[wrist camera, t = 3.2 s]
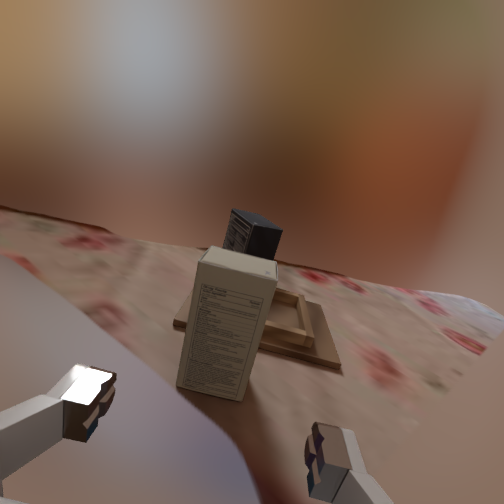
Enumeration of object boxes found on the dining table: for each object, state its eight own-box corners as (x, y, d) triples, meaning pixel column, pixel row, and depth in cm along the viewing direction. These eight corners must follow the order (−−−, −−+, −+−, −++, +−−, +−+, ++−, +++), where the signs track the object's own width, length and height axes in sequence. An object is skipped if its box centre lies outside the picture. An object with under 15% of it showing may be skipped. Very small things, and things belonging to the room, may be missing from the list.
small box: (268, 283, 49) (285, 229, 46) (236, 282, 46) (252, 224, 43) (247, 259, 58) (260, 212, 55) (218, 256, 55) (230, 207, 52)
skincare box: (246, 369, 28) (281, 261, 24) (242, 405, 23) (283, 281, 20) (186, 352, 28) (211, 242, 24) (170, 386, 23) (198, 258, 20)
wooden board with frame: (172, 324, 31) (176, 307, 30) (202, 277, 44) (205, 264, 44) (338, 369, 31) (346, 353, 31) (318, 308, 45) (323, 297, 44)
